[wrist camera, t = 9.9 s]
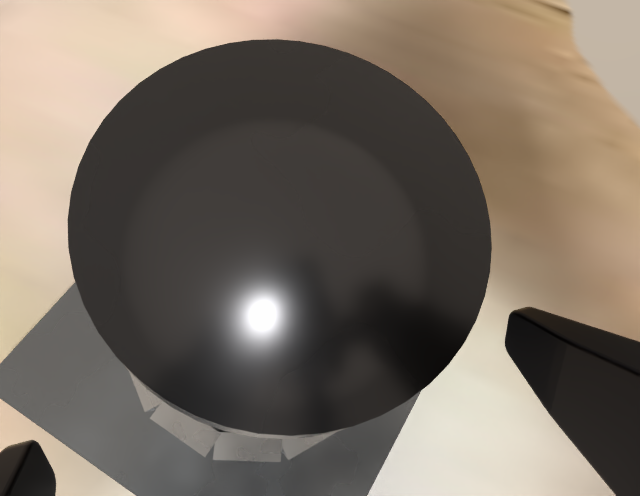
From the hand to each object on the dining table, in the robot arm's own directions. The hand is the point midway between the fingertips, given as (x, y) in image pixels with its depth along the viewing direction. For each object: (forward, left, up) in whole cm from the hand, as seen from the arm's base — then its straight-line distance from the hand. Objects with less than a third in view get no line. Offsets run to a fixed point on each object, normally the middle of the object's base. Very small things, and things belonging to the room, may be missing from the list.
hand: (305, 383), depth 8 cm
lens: (+1, +2, -10) cm, 10 cm away
